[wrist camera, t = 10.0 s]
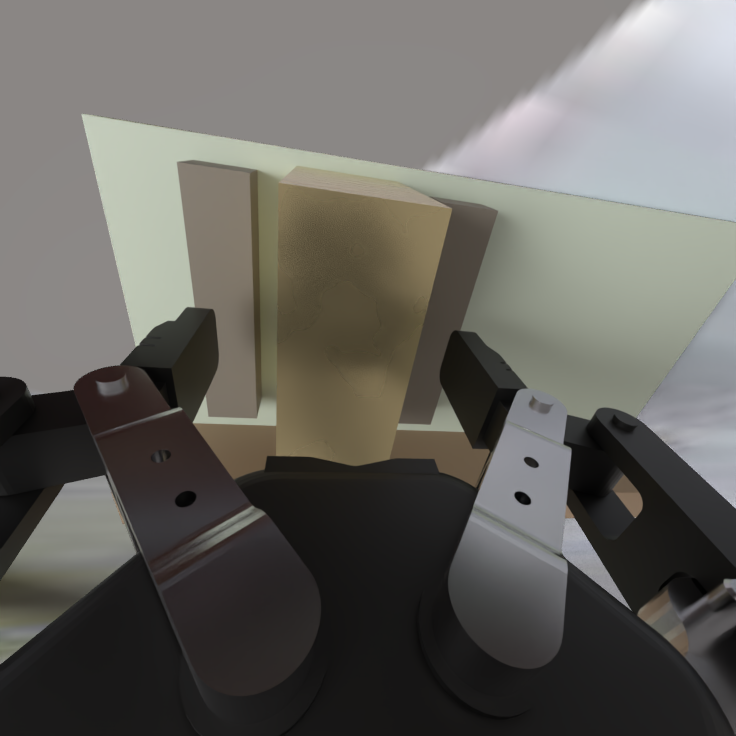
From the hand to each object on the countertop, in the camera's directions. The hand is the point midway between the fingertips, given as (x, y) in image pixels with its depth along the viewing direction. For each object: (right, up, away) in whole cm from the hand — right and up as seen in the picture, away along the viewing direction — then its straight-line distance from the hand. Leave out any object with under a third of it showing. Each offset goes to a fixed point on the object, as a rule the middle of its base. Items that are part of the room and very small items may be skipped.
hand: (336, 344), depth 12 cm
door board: (+3, -5, +8) cm, 10 cm away
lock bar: (0, +2, +2) cm, 3 cm away
